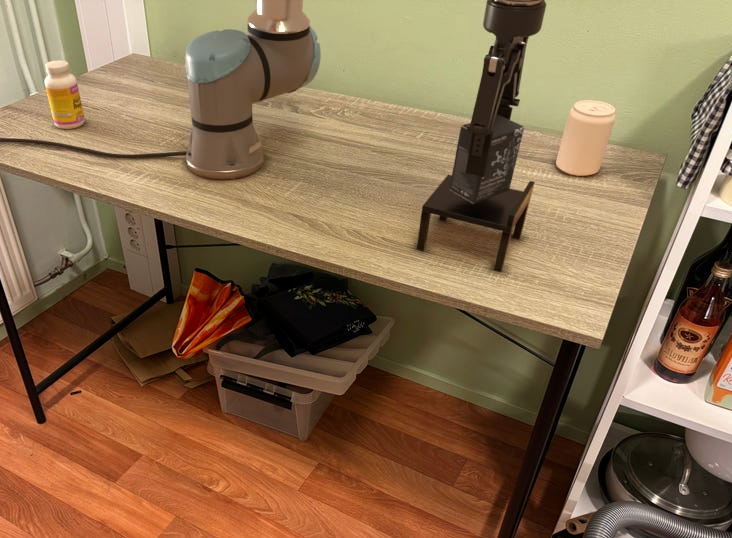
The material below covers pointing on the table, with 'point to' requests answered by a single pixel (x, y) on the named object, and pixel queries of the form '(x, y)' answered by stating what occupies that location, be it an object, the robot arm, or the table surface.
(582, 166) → the beverage can
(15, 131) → the table surface
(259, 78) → the robot arm
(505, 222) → the small dark brown table
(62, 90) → the supplement bottle
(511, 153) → the box
